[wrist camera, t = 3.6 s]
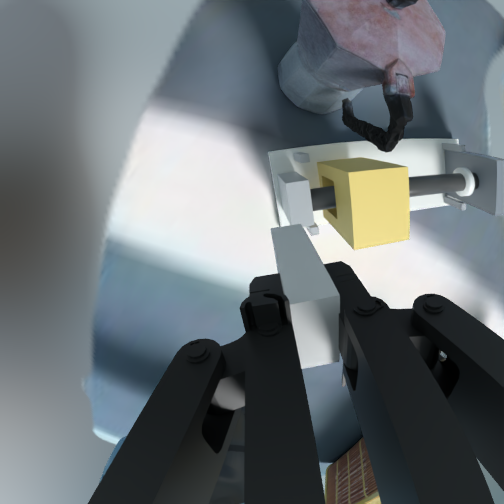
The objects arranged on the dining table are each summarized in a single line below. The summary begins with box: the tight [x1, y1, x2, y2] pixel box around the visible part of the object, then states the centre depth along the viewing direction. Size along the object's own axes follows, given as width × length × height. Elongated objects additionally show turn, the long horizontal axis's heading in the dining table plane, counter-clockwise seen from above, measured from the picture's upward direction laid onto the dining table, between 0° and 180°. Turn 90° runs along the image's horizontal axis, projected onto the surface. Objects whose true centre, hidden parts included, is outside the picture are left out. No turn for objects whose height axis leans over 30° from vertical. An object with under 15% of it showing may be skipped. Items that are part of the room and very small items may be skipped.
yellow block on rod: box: [317, 157, 410, 250], centre depth 23 cm, size 5×6×9 cm
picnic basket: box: [324, 437, 381, 504], centre depth 41 cm, size 29×26×30 cm
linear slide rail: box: [268, 138, 504, 236], centre depth 24 cm, size 26×9×11 cm, turn 100°
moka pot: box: [277, 0, 446, 153], centre depth 16 cm, size 10×15×20 cm, turn 7°
